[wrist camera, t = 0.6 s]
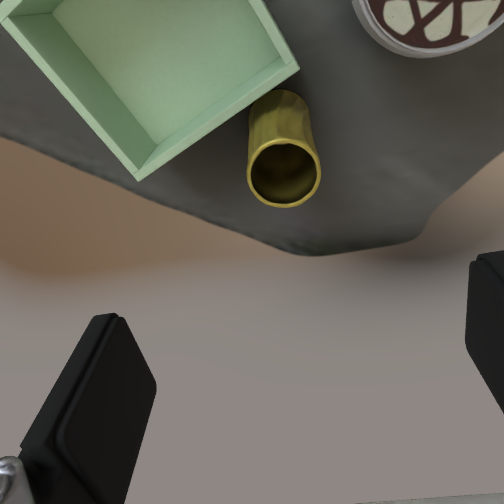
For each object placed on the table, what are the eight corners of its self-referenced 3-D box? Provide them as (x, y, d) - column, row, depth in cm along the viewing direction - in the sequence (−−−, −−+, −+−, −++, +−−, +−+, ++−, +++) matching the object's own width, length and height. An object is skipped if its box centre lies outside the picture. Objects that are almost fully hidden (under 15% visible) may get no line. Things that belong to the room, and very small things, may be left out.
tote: (42, 9, 36) (-9, 13, 29) (187, -135, 30) (165, -171, 24) (158, 153, 42) (138, 182, 36) (294, 56, 37) (300, 69, 30)
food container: (356, 70, 37) (382, 92, 29) (335, 0, 35) (356, 1, 26) (497, 5, 34) (571, 8, 26) (486, -79, 31) (566, -106, 23)
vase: (313, 145, 41) (332, 206, 29) (255, 156, 42) (249, 220, 30) (305, 82, 38) (322, 123, 26) (242, 95, 39) (231, 141, 27)
